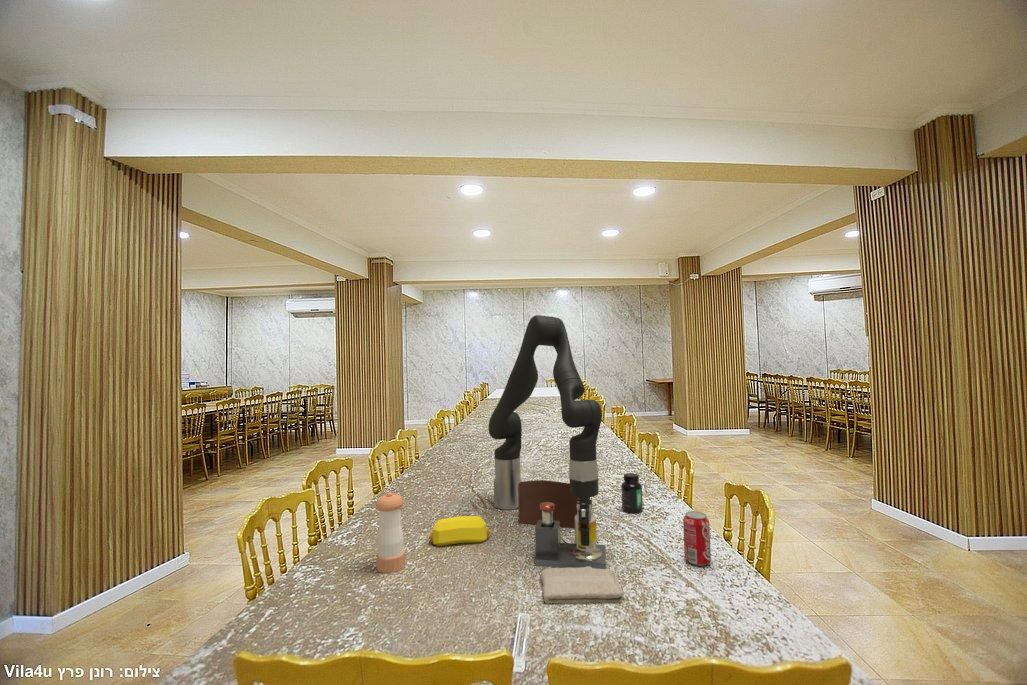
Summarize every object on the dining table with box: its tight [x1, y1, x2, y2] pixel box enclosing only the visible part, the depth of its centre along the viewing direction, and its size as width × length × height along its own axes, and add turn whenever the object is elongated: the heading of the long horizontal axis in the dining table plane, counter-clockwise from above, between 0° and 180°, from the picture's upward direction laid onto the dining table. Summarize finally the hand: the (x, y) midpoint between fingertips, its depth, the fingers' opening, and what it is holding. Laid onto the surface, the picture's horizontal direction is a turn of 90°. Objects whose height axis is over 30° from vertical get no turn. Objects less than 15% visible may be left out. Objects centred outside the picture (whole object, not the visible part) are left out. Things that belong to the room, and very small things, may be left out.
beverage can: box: [682, 510, 712, 567], centre depth 115 cm, size 6×6×12 cm
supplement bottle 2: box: [620, 472, 644, 515], centre depth 153 cm, size 7×7×12 cm
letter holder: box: [518, 480, 579, 529], centre depth 146 cm, size 10×20×14 cm, turn 72°
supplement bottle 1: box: [574, 508, 598, 551], centre depth 119 cm, size 6×6×10 cm
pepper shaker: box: [375, 491, 406, 574], centre depth 118 cm, size 7×7×19 cm
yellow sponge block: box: [428, 515, 491, 547], centre depth 133 cm, size 18×7×8 cm
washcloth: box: [540, 566, 625, 605], centre depth 103 cm, size 12×18×3 cm, turn 90°
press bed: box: [533, 520, 607, 569], centre depth 119 cm, size 18×11×8 cm, turn 79°
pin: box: [540, 502, 555, 527], centre depth 121 cm, size 4×4×8 cm
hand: (585, 539), depth 119 cm, fingers closed on supplement bottle 1, 5 cm apart
